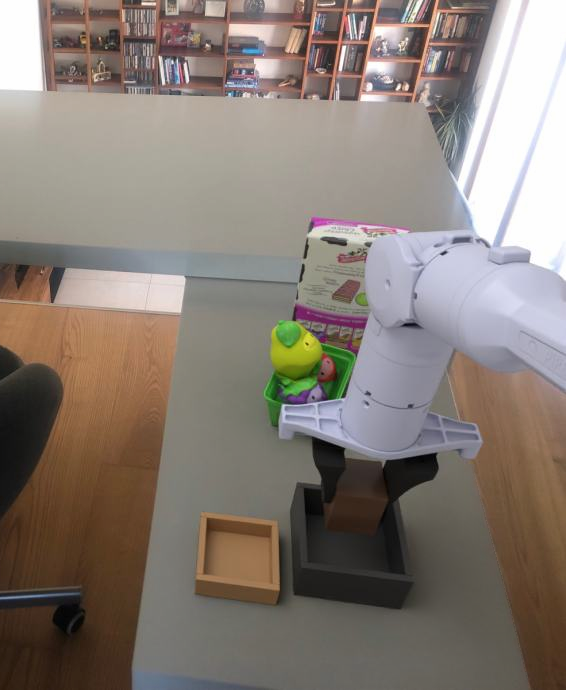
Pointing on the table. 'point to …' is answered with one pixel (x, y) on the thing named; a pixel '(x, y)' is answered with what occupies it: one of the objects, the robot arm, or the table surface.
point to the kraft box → (238, 558)
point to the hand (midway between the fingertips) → (353, 496)
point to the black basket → (348, 556)
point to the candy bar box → (336, 280)
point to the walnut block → (357, 498)
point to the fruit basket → (304, 369)
